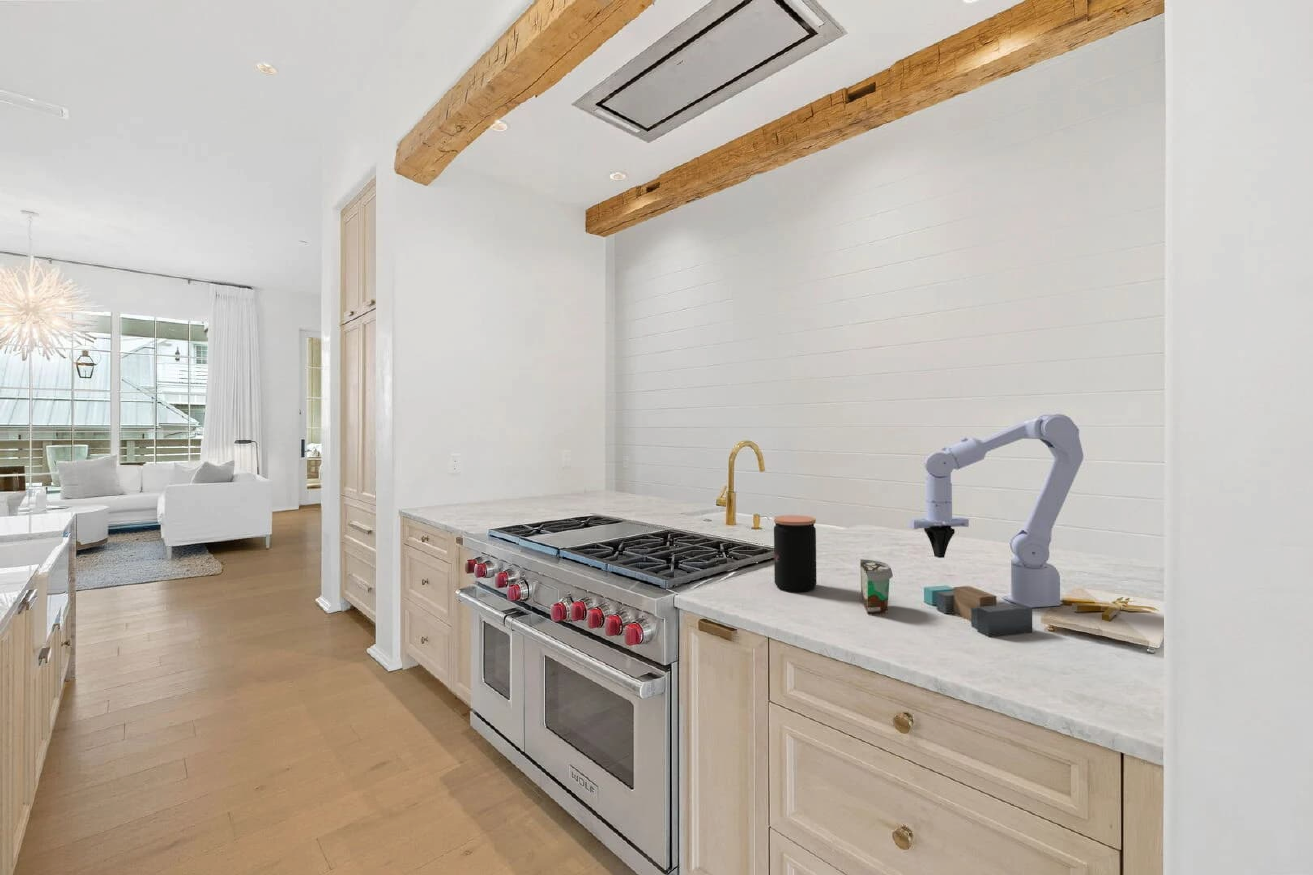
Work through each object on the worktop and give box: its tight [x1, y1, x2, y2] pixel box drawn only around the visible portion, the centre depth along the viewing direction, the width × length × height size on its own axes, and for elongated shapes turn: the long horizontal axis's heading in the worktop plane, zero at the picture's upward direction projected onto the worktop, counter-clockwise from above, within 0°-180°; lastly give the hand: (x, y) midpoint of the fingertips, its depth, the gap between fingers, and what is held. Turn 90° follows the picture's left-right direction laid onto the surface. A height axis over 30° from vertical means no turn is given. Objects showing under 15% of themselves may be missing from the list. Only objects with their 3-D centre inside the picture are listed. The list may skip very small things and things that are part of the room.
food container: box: [859, 558, 893, 615], centre depth 134 cm, size 12×6×10 cm, turn 168°
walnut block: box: [953, 585, 998, 623], centre depth 126 cm, size 4×8×6 cm, turn 10°
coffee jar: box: [773, 514, 817, 593], centre depth 153 cm, size 11×11×18 cm
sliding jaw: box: [923, 585, 954, 615], centre depth 135 cm, size 8×9×4 cm
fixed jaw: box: [970, 603, 1033, 638], centre depth 119 cm, size 10×6×5 cm, turn 100°
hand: (939, 556), depth 144 cm, fingers closed
